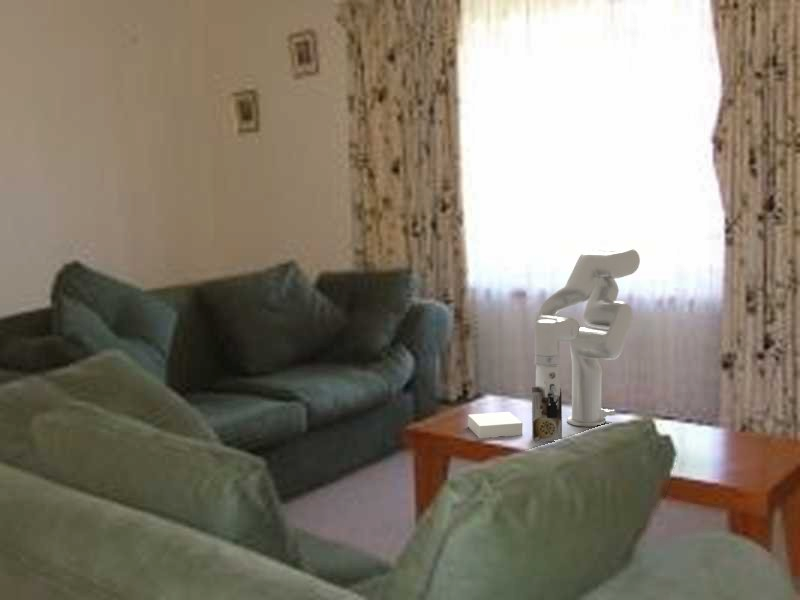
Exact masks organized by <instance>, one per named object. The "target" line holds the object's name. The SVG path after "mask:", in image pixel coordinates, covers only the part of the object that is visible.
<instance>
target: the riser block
mask: <svg viewBox="0 0 800 600" xmlns="http://www.w3.org/2000/svg"><path fill="white" fill-rule="evenodd" d="M467 424H468V428H469V429H470V430H471V431H472V432H473V433H474V434H475V436H477V437H478V439H489V437H492V438H499V437H498V436H505V437H515V436H516V435H518V436H523V422H522V421H520V419H519V418H517V417H516V416H515V415H513V414H512V412H510V411H502V412H500V411H499V412H486V413H485V412H484V413H475V414H474V413H473V414H472V413H471V414H467Z"/></svg>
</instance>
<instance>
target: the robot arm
mask: <svg viewBox="0 0 800 600" xmlns="http://www.w3.org/2000/svg"><path fill="white" fill-rule="evenodd" d="M640 260H641V258H640V255H639V253H638V252H637V250H635V249H633V248H629V247H627V248H626V247H611V246H599V247H595V248H593V249H592V250H591V251H589V250H588V251H585V252H583V253H581V254H580V255H579V257H578V259H577V261H576V263H575V265H574V267H573V269H572V272H571V274H570V276H569V277H568V280H567V282H566V284H565V285H564V287H562V288H560V289H558V290H557V291H556V292H554V293H553V294H552V295H550V296H549V297H548V298H546V300H545V301H544V302H543V303H542V304H541V306H540V308H539V310H538V313H537V314H536V317H535V320H534V324H533V330H534V365H535V366H536V368H535V387H537V388H538V389H539V390H540V391H542V392H543V397H545V398H546V399H547V403H548V405H547V418H557V405H558V403H557V401H558V397H559V396H560V388H561V383H560V372H559V371H560V370H559V365H560V342H568V344H569V350H570V351H569V352H570V355H571V414H570V415H569V416H567V417H566V421H567V423H568V424H570V425H573V426H576V427H587V428H588V427H589V428H590V427H591V428H592V427H594V428H595V427H598V426H597V425H600V424H603V425H605V424H606V423H605V421H606V422H607V419H606V418H607V416H609V417H612V416H614V417H615V416H616V410H615V409H609V408H603V407H602V376H603V375H602V367H601V364H600V362H599V360H598V359H601V360H611V361H613V360H617V359H618V358H619V356H621V354H622V352H623V349H624V347H625V343H626V341H627V338H628V335H629V331H630V330H631V327H632V323H633V315H634V314H633V310H632V307H631V305H630V304H629V303H627V302H625V301H622V300H617V297H618V294H619V290H620V289H619V286H618V283H617V281H616V280H615V279H620V278H624V277H627V276H630V275H633V274H634V273H636V272H637V270H638V268H639V266H640ZM586 301H587V303H586V305H585V309H584V312H583V315H582V316H583V317H582V318H583V322H584V324H586V325H587V326H589V327H586V326H583V327H580V323H579V322H578V321H577V320H576V319H575V318H573V317H570V316H561V315H558V313H560V312H561V311H563V310H564V309H566V308H569V307H572V306H576V305H579V304H581V303H584V302H586ZM549 394H552V395H549ZM550 399H551V401H550ZM604 423H605V424H604ZM600 426H601V425H600Z"/></svg>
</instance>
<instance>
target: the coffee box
mask: <svg viewBox="0 0 800 600" xmlns="http://www.w3.org/2000/svg"><path fill="white" fill-rule="evenodd" d="M562 392H563V391H562V389H561V387H560V396H559V397H558V401H557V403H558V405H557V418H547V405H548V403H547V399H546V398H545V397H543V392H542V391H540V390H539V389H538V388H537V387H536V386H532V387H531V414H532V415H531V421H532V422H531V423H532V425H531V426H532V429H531V430H532V431H531V432H532V436H531V437H532V442H533V441H535V443H536V442H537V441H539V442H540V443H543V442H542V441H554V440H558V439H562V440H563V411H562V410H563V409H562V407H563V406H562V403H563V402H562V401H563V399H562V394H563V393H562ZM549 395H552V394H549ZM550 401H551V399H550ZM539 442H537V443H539Z"/></svg>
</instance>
